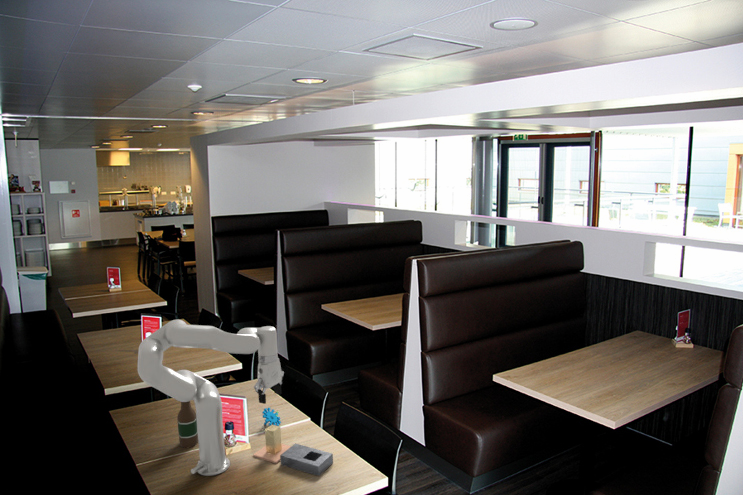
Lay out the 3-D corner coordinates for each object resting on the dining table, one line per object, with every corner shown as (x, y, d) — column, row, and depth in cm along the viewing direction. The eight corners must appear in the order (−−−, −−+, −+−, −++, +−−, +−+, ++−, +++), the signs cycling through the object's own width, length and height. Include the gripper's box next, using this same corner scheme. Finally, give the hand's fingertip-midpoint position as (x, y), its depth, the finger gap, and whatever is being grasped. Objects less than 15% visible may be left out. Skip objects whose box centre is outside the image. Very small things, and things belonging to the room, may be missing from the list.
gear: (273, 428, 237) (260, 410, 240) (265, 436, 239) (252, 418, 241) (286, 420, 248) (273, 403, 250) (278, 428, 249) (265, 411, 252)
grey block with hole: (318, 476, 203) (318, 466, 202) (280, 464, 212) (280, 455, 211) (333, 463, 212) (332, 453, 211) (296, 452, 220) (295, 443, 220)
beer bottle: (175, 445, 228) (170, 392, 225) (189, 437, 235) (184, 385, 232) (189, 449, 225) (184, 395, 221) (202, 441, 232) (198, 388, 228)
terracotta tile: (276, 463, 212) (276, 461, 212) (253, 456, 218) (253, 454, 218) (295, 449, 223) (294, 447, 223) (272, 442, 229) (272, 440, 228)
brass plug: (274, 454, 217) (273, 431, 216) (266, 452, 220) (264, 429, 218) (281, 449, 221) (280, 426, 220) (273, 447, 223) (271, 424, 222)
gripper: (261, 366, 205) (263, 408, 207) (289, 352, 220) (290, 391, 222) (246, 363, 208) (248, 404, 211) (274, 349, 223) (276, 388, 226)
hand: (270, 398), depth 217 cm, fingers open, 9 cm apart
